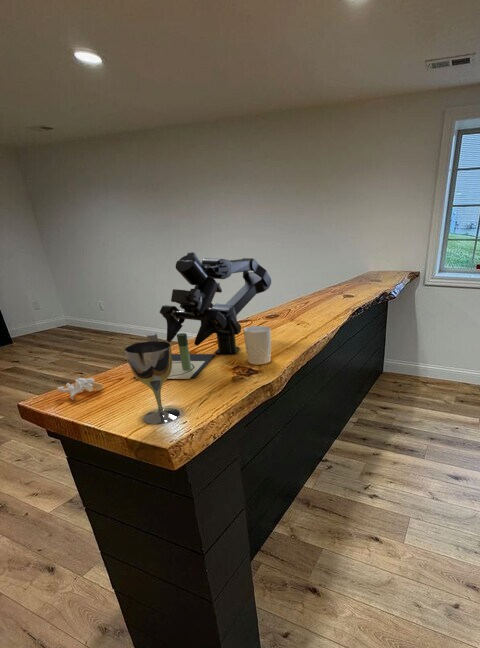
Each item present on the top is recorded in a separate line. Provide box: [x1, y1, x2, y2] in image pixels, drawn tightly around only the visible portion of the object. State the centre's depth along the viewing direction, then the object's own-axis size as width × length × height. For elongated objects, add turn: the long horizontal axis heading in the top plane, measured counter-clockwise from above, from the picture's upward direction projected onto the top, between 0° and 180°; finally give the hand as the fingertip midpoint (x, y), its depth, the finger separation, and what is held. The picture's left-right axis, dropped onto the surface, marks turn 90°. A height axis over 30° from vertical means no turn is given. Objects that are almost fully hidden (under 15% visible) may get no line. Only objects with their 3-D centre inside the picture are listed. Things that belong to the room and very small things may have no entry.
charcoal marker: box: [146, 332, 159, 342], centre depth 95 cm, size 2×2×10 cm
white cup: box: [243, 325, 272, 366], centre depth 103 cm, size 8×8×10 cm
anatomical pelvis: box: [56, 377, 104, 401], centre depth 82 cm, size 8×4×7 cm
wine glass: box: [124, 340, 181, 425], centre depth 70 cm, size 8×8×15 cm
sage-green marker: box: [176, 332, 192, 371], centre depth 95 cm, size 2×2×10 cm
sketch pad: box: [133, 353, 216, 380], centre depth 101 cm, size 21×16×1 cm
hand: (181, 343), depth 94 cm, fingers open, 9 cm apart
